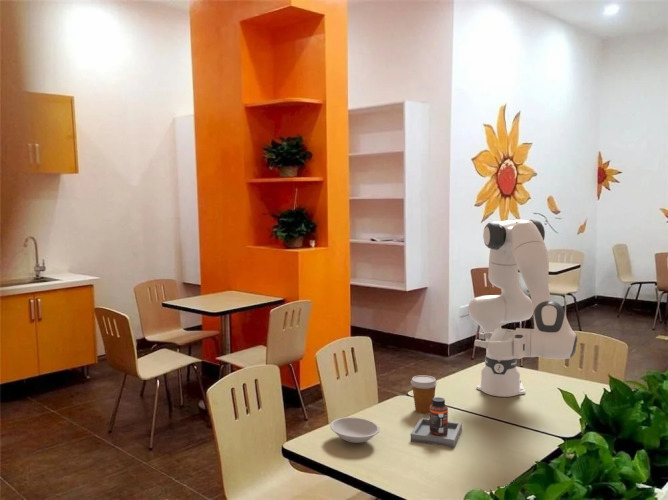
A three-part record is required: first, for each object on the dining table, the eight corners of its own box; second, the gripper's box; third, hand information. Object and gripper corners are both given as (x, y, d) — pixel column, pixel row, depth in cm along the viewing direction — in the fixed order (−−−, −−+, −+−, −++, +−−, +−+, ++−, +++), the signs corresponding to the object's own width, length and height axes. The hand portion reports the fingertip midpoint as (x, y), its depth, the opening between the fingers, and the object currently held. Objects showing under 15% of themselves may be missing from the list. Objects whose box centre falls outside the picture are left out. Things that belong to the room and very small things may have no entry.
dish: (390, 442, 183) (389, 427, 183) (358, 457, 173) (358, 441, 173) (351, 427, 196) (351, 413, 195) (320, 440, 186) (320, 425, 186)
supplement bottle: (446, 437, 184) (446, 403, 183) (428, 434, 186) (427, 401, 185) (449, 429, 189) (449, 396, 188) (431, 427, 191) (431, 395, 190)
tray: (421, 424, 197) (420, 417, 196) (461, 430, 191) (461, 423, 191) (410, 441, 184) (410, 433, 183) (454, 447, 178) (454, 439, 178)
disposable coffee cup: (436, 416, 204) (436, 383, 202) (410, 414, 206) (409, 382, 204) (437, 406, 213) (437, 375, 212) (411, 405, 215) (411, 374, 214)
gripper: (523, 325, 189) (481, 322, 195) (518, 340, 170) (472, 337, 176) (523, 343, 190) (481, 340, 195) (518, 360, 171) (472, 356, 176)
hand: (476, 339), depth 185 cm, fingers open, 8 cm apart
